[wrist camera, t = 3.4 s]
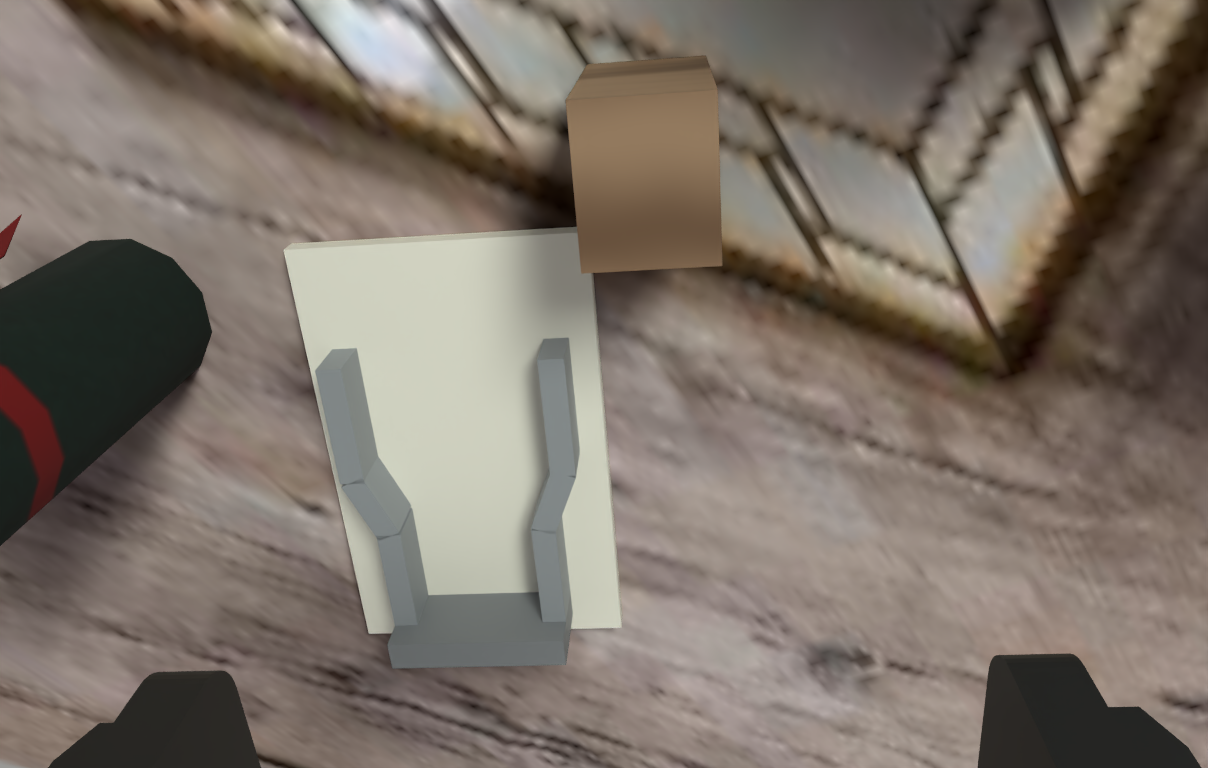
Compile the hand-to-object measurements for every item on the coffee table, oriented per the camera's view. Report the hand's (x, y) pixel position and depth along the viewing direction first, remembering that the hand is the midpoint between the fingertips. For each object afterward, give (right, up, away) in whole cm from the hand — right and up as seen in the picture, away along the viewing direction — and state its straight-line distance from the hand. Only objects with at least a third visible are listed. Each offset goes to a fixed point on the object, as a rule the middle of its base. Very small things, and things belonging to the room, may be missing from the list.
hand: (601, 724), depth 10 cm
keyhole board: (-7, +1, +39) cm, 39 cm away
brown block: (+2, +15, +32) cm, 35 cm away
